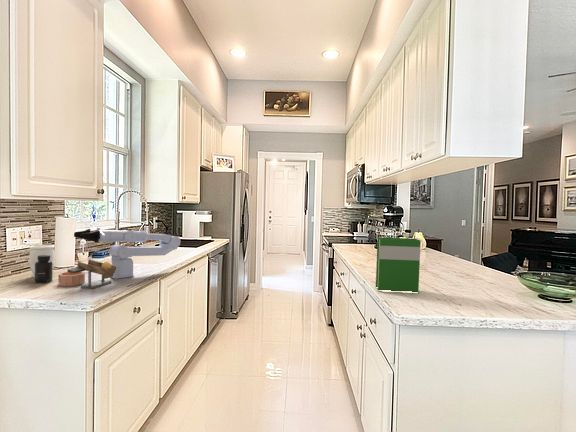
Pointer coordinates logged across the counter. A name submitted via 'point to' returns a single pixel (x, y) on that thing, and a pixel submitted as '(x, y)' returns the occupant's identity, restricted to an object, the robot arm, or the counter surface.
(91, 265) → the brown tray
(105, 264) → the ball
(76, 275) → the cup
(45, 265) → the supplement bottle
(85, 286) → the trough stand
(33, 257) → the white tapered cylinder
